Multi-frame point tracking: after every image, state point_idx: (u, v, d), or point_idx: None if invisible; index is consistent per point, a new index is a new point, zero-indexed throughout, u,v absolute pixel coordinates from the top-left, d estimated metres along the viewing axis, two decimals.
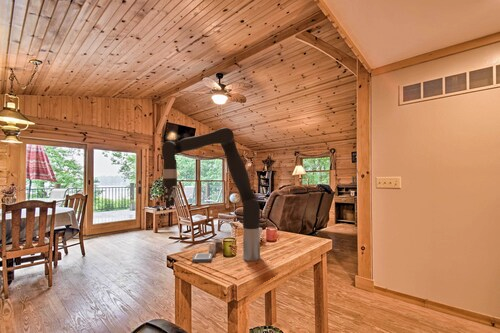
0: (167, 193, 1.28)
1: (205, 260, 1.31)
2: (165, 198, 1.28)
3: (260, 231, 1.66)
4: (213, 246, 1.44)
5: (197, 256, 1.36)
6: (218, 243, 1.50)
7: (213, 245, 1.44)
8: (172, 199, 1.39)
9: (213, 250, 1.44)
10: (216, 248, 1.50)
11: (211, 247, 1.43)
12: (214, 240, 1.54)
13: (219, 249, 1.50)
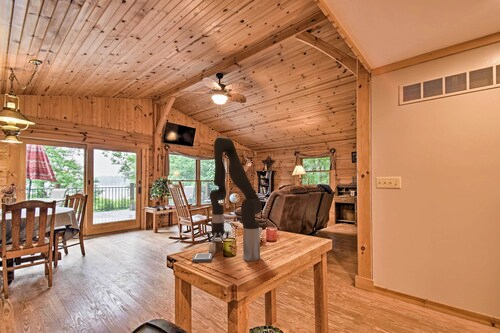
0: None
1: (205, 260, 1.31)
2: None
3: (260, 231, 1.66)
4: (213, 246, 1.44)
5: (197, 256, 1.36)
6: (218, 243, 1.50)
7: (213, 245, 1.44)
8: None
9: (213, 250, 1.44)
10: (216, 248, 1.50)
11: (211, 247, 1.43)
12: (214, 240, 1.54)
13: (219, 249, 1.50)
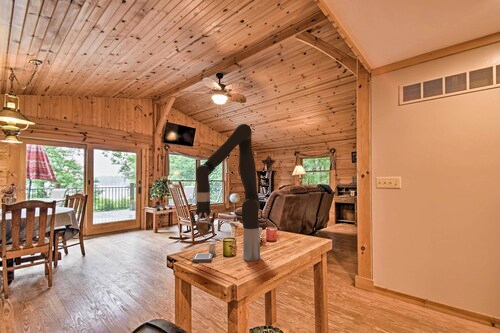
0: (214, 216, 1.38)
1: (205, 260, 1.31)
2: (213, 220, 1.37)
3: (260, 231, 1.66)
4: (213, 246, 1.44)
5: (197, 256, 1.36)
6: (203, 224, 1.35)
7: (213, 245, 1.44)
8: None
9: (213, 250, 1.44)
10: (201, 230, 1.35)
11: (211, 247, 1.43)
12: (199, 221, 1.39)
13: (204, 231, 1.35)
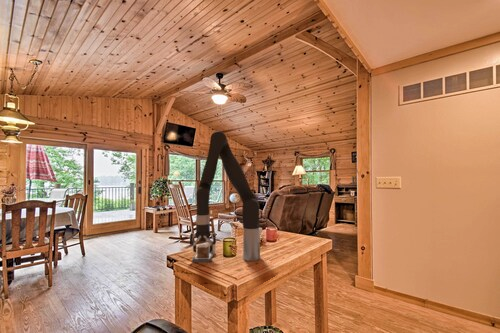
0: (215, 237, 1.37)
1: (205, 260, 1.31)
2: (215, 242, 1.36)
3: (260, 231, 1.66)
4: (213, 246, 1.44)
5: None
6: (203, 249, 1.34)
7: (213, 245, 1.44)
8: (195, 245, 1.36)
9: (213, 250, 1.44)
10: (200, 255, 1.33)
11: None
12: (199, 245, 1.37)
13: (204, 255, 1.33)
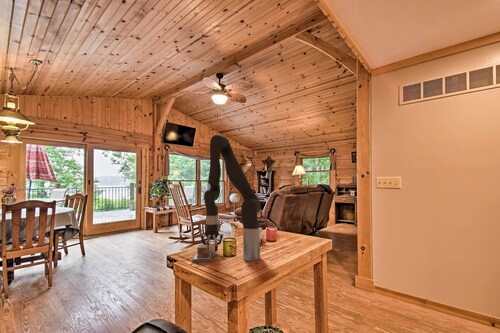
0: None
1: (205, 260, 1.31)
2: None
3: (260, 231, 1.66)
4: (213, 246, 1.44)
5: None
6: (203, 249, 1.34)
7: (213, 245, 1.44)
8: None
9: (213, 250, 1.44)
10: (200, 255, 1.33)
11: (211, 247, 1.43)
12: (199, 245, 1.37)
13: (204, 255, 1.33)
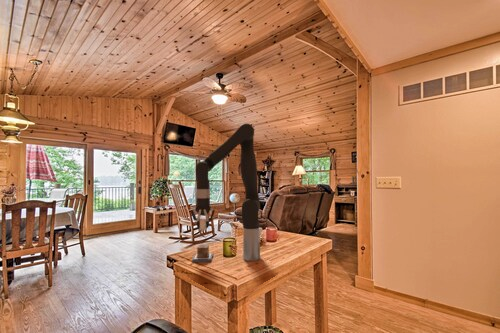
0: (213, 213, 1.38)
1: (205, 260, 1.31)
2: (211, 218, 1.37)
3: (260, 231, 1.66)
4: (204, 221, 1.35)
5: None
6: (203, 249, 1.34)
7: (204, 220, 1.35)
8: None
9: (204, 226, 1.35)
10: (200, 255, 1.33)
11: (202, 222, 1.35)
12: (199, 245, 1.37)
13: (204, 255, 1.33)
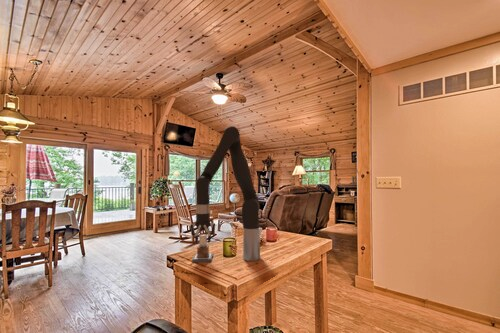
0: (214, 227, 1.37)
1: (205, 260, 1.31)
2: (213, 232, 1.36)
3: (260, 231, 1.66)
4: (204, 238, 1.35)
5: None
6: (203, 249, 1.34)
7: (204, 237, 1.35)
8: (197, 235, 1.37)
9: (204, 242, 1.35)
10: (200, 255, 1.33)
11: (202, 239, 1.35)
12: None
13: (204, 255, 1.33)
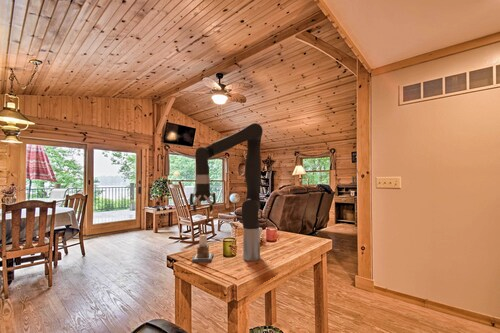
0: (215, 197, 1.38)
1: (205, 260, 1.31)
2: None
3: (260, 231, 1.66)
4: (204, 238, 1.35)
5: None
6: (203, 249, 1.34)
7: (204, 237, 1.35)
8: (195, 205, 1.37)
9: (204, 242, 1.35)
10: (200, 255, 1.33)
11: (202, 239, 1.35)
12: None
13: (204, 255, 1.33)
